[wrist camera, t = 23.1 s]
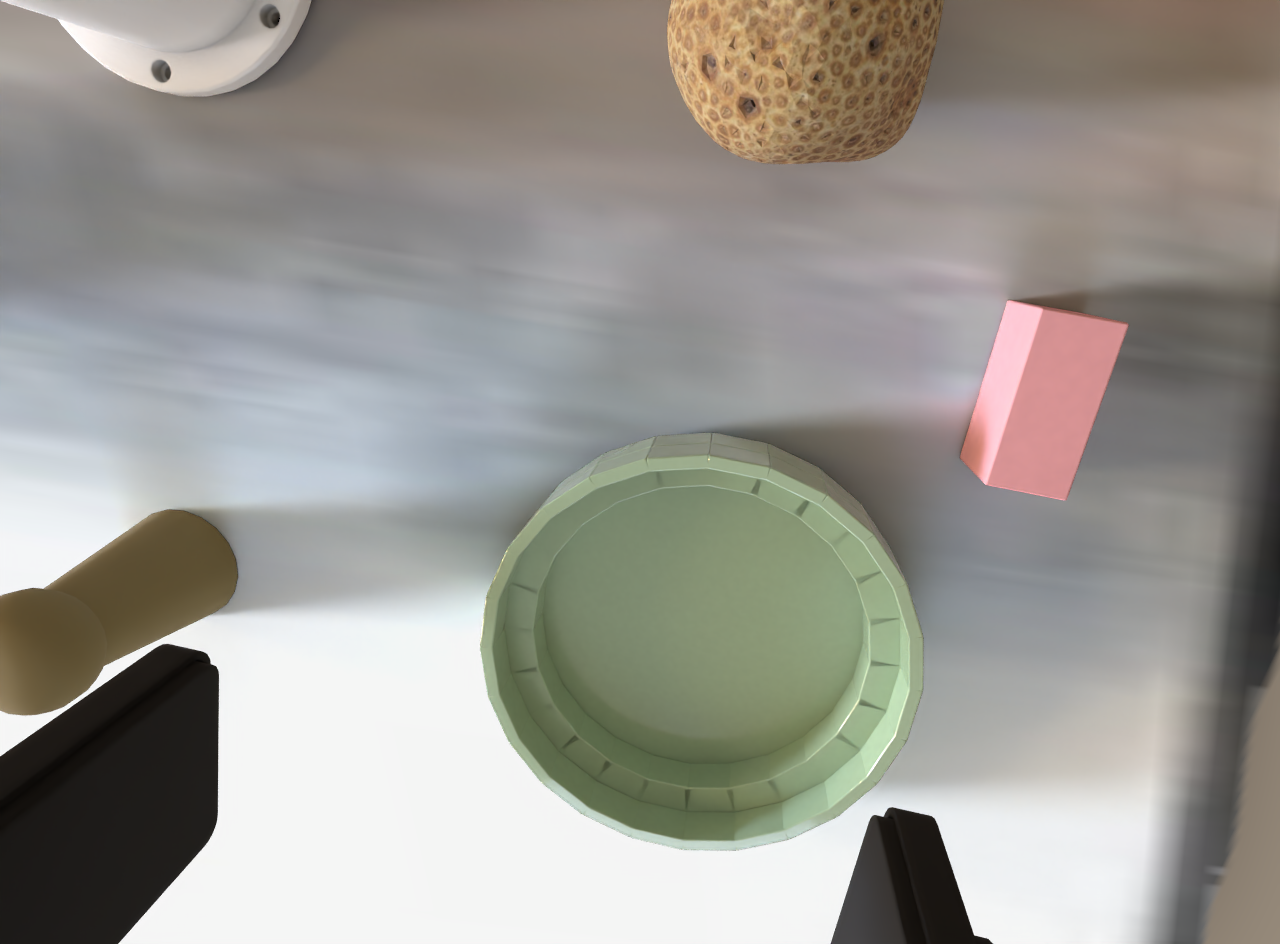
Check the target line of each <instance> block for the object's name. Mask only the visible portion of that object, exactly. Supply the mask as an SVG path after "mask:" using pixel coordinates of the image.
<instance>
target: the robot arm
mask: <svg viewBox="0 0 1280 944" xmlns="http://www.w3.org/2000/svg"><path fill="white" fill-rule="evenodd" d="M0 1H3V2H6V3H9V4H12V5H15V6H19V7H22V8H25V9H28V10H31V11H34V12H37V13H40V14H44V15H47V16H50V17H53V18H56V19H58V20H59V21H60V23H61V24H62V25H63V27H64V28H65V29H66V30H67V31H68V32H69V34H70V35H71V36H72V37H73V38H74V39H75V40H76V42H77V43H78V44H79V45H80V46H81V47H82V48H83V49H84V50H85V51H86V52H87V53H89V54H90V55H91V56H92V57H93V58H95V59H96V60H97V61H98V62H99V63H101V64H102V65H103V66H104V67H105V68H107V69H109V70H111V71H112V72H114V73H116V74H118V75H119V76H121V77H123V78H125V79H126V80H128V81H130V82H132V83H135V84H138V85H141V86H144V87H147V88H150V89H153V90H156V91H160V92H165V93H170V94H174V95H179V96H212V95H217V94H221V93H226V92H230V91H234V90H236V89H238V88H240V87H242V86H244V85H246V84H248V83H250V82H252V81H254V80H256V79H257V78H258V77H260V76H261V75H262V74H263V73H265V72H266V71H267V70H268V69H270V68H271V67H272V66H273V65H275V64H276V63H277V62H278V60H279V59H280V58H281V57H282V55H283V54H284V53H285V52H286V50H287V49H288V48H289V47H290V45H291V44H292V43H293V42H294V40H295V38H296V36H297V34H298V32H299V30H300V28H301V26H302V24H303V22H304V20H305V18H306V16H307V14H308V11H309V7H310V4H311V0H0ZM279 17H280V21H279V24H278V23H277V20H278V18H279ZM218 715H219V673H218V669H217V667H216V666H214V665H211V663H210V658H209V656H208V654H206V653H204V652H202V651H197V650H193V649H188V648H184V647H179V646H175V645H171V644H163V645H161V646H159V647H157V648H155V649H154V650H152V651H151V652H149V653H148V654H146V655H145V656H144V657H142V658H141V659H139V660H138V661H136V662H135V663H133V664H132V665H131V666H129V667H128V668H126V669H125V670H123V671H122V672H121V673H119V674H118V675H116V676H115V677H113V678H112V679H111V680H109V681H108V682H106V683H105V684H103V685H102V686H101V687H99V688H98V689H96V690H95V691H93V692H92V693H91V694H89V695H88V696H86V697H85V698H83V699H82V700H80V701H79V702H78V703H76V704H75V705H73V706H72V707H70V708H69V709H68V710H66V711H65V712H63V713H62V714H60V715H59V716H58V717H56V718H55V719H53V720H52V721H50V722H49V723H48V724H46V725H45V726H43V727H42V728H40V729H39V730H37V731H36V732H35V733H33V734H32V735H30V736H29V737H27V738H26V739H25V740H23V741H22V742H20V743H19V744H17V745H16V746H15V747H13V748H12V749H10V750H9V751H7V752H6V753H5V754H3V755H2V756H0V944H118V943H119V942H120V941H121V940H122V939H123V938H124V936H125V935H126V934H127V933H128V932H129V931H130V930H131V929H132V927H133V926H134V925H135V924H136V923H137V922H138V921H139V920H140V918H141V917H142V916H143V915H144V914H145V913H146V912H147V911H148V909H149V908H150V907H151V906H152V905H153V904H154V903H155V901H156V900H157V899H158V898H159V897H160V896H161V895H162V894H163V892H164V891H165V890H166V889H167V888H168V887H169V886H170V885H171V883H172V882H173V881H174V880H175V879H176V878H177V877H178V876H179V874H180V873H181V872H182V871H183V870H184V869H185V868H186V866H187V865H188V864H189V863H190V862H191V861H192V860H193V859H194V857H195V856H196V855H197V854H198V853H199V852H200V851H201V850H202V848H203V847H204V846H205V845H206V843H207V842H208V841H209V839H210V837H211V836H212V834H213V831H214V829H215V826H216V822H217V816H218ZM831 944H993V943H992V942H991V941H990V940H989V939H987V938H982V937H978V936H974V934H973V931H972V928H971V925H970V922H969V919H968V916H967V913H966V909H965V906H964V903H963V900H962V897H961V894H960V891H959V888H958V885H957V882H956V879H955V876H954V873H953V870H952V867H951V864H950V861H949V858H948V855H947V852H946V849H945V846H944V843H943V840H942V837H941V834H940V831H939V828H938V825H937V823H936V821H935V819H934V818H933V817H932V816H928V815H924V814H919V813H915V812H911V811H906V810H902V809H897V808H893V807H891V808H888V810H887V811H886V813H885V815H884V817H881V816H877V815H873V816H872V817H871V819H870V821H869V824H868V827H867V830H866V833H865V837H864V840H863V843H862V846H861V849H860V852H859V856H858V859H857V862H856V865H855V868H854V871H853V875H852V878H851V881H850V884H849V887H848V891H847V894H846V897H845V900H844V903H843V906H842V910H841V913H840V916H839V919H838V922H837V926H836V929H835V932H834V935H833V938H832V941H831Z"/></svg>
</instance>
